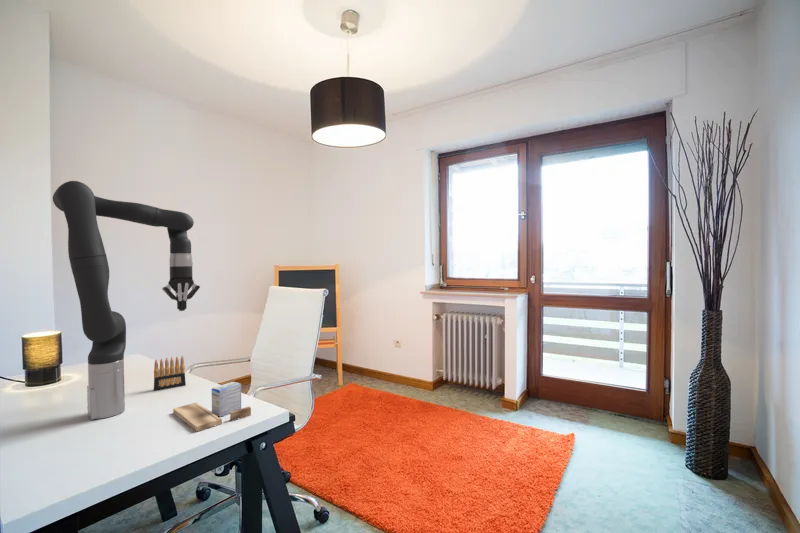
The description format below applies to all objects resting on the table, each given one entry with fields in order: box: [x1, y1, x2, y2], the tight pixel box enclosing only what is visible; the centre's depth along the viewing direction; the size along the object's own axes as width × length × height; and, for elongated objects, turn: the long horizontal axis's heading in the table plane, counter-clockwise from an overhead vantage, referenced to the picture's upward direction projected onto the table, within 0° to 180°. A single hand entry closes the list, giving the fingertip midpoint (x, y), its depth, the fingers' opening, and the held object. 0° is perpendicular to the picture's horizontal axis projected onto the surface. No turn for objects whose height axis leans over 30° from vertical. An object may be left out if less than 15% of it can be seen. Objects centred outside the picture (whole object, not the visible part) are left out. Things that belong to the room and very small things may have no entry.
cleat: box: [229, 406, 252, 421], centre depth 117 cm, size 6×1×2 cm, turn 137°
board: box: [172, 402, 223, 433], centre depth 117 cm, size 7×21×2 cm, turn 47°
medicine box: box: [211, 381, 242, 418], centre depth 122 cm, size 8×4×9 cm, turn 151°
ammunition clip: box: [153, 355, 187, 392], centre depth 148 cm, size 11×2×12 cm, turn 127°
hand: (181, 310), depth 143 cm, fingers closed
